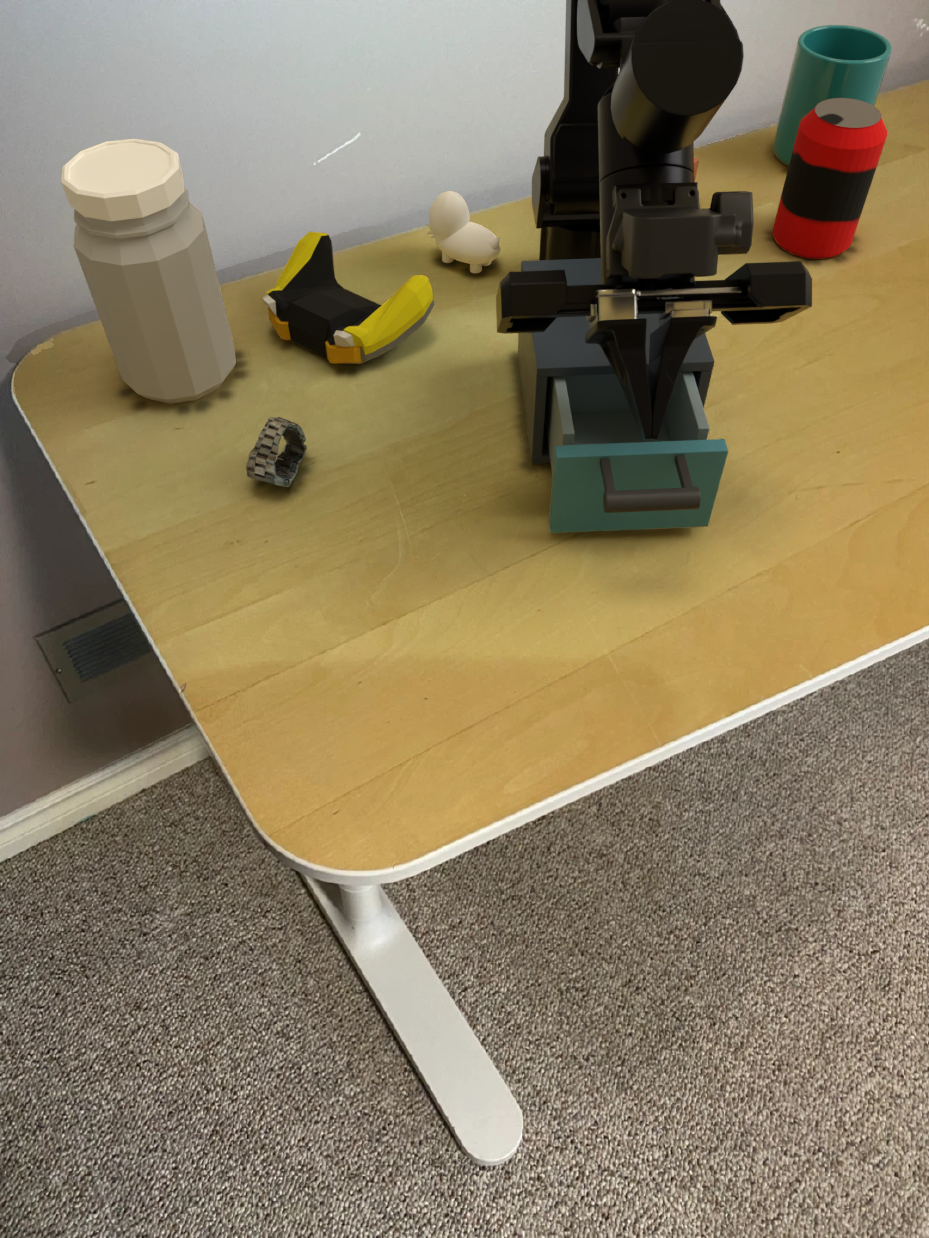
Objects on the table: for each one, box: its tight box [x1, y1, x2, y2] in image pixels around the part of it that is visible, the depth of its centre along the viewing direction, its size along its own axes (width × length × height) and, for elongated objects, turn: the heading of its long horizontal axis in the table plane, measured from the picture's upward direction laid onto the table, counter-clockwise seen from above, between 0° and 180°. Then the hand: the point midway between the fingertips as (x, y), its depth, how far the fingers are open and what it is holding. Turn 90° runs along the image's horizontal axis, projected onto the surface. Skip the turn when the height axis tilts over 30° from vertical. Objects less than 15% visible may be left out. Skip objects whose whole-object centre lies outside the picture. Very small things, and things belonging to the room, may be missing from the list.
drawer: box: [544, 371, 729, 534], centre depth 68 cm, size 17×11×8 cm
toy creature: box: [426, 190, 502, 274], centre depth 90 cm, size 5×8×6 cm, turn 56°
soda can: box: [771, 98, 888, 260], centre depth 89 cm, size 8×8×12 cm
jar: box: [60, 138, 237, 405], centre depth 75 cm, size 10×10×18 cm
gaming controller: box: [262, 231, 435, 365], centre depth 84 cm, size 15×6×10 cm
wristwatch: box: [245, 416, 308, 488], centre depth 73 cm, size 3×5×5 cm
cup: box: [772, 24, 893, 167], centre depth 100 cm, size 9×12×11 cm
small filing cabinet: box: [517, 258, 716, 465], centre depth 75 cm, size 14×13×9 cm
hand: (650, 439), depth 61 cm, fingers closed
